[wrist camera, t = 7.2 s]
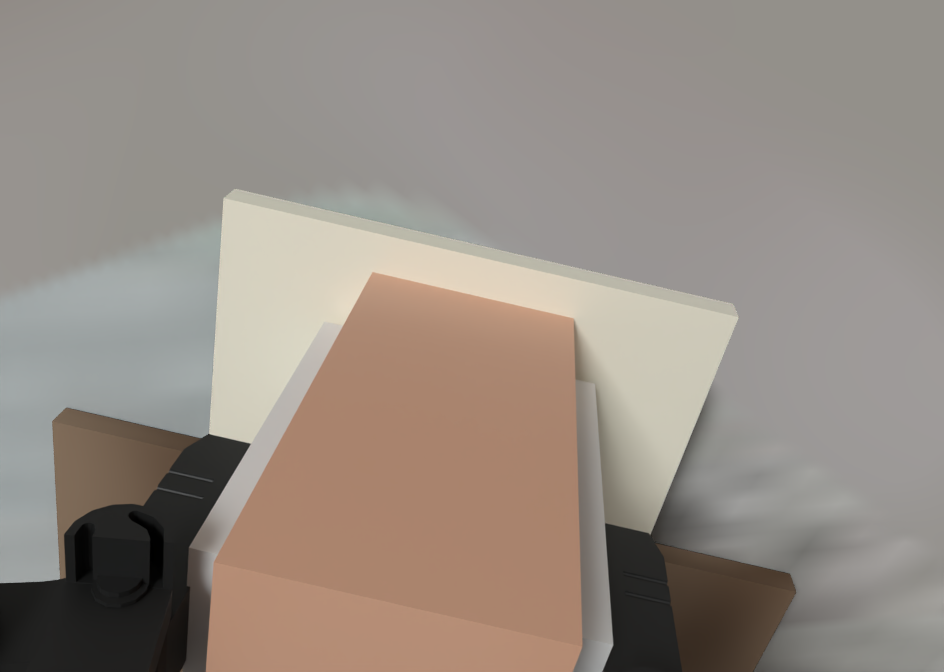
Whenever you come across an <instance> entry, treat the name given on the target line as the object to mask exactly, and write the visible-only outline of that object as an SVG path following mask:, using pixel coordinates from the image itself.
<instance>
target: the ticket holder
mask: <svg viewBox="0 0 944 672" xmlns="http://www.w3.org/2000/svg"><path fill="white" fill-rule="evenodd" d="M52 426H53V445H54V465H55V485H56V505H57V525H58V545H59V564H60V579H63V578H66V571H65V549H64V534H65V532H66V531H67V530H68V529H69V527H70V526H71V525H72V524H73V522H74V521H75V520H77V519H79V518H80V517H82V516H84V515H85V514H87V513H89V512H90V511H92V510H95V509H99V508H102V507H106V506H109V505H116V504H137V505H141V506H143V505H144V504H145V502H146V501H147V500H148V498H149V497H150V496H151V494H152V493H153V491H154V490H157V487H158V484H159V483H160V482H161V480H162V479H163V478H164V476H165V475H166V473H169V470H170V468H171V466H172V465H173V464H174V462H175V461H176V459H177V458H178V457H179V455H180V454H181V453H182V451H183V450H184V449H185V448H186V447H188V446H190V445H191V444H193V443H195V442H196V441H198V440H200V438H196V437H191V436H187V435H183V434H178V433H174V432H170V431H165V430H161V429H156V428H152V427H148V426H143V425H139V424H135V423H130V422H126V421H122V420H117V419H113V418H109V417H104V416H100V415H96V414H91V413H87V412H82V411H78V410H74V409H69V408H65V409H64V410H63V411H62V412H61V413H60V414H59V415H58V416H57V417H56V418H55V419H54V420H53V421H52ZM655 544H656V545H657V547H658V548H659V550H660V552H661V553H662V555H663V556H664V560H665V567H666V573H667V579H668V582H667V586H669V592H670V598H671V603H670V606H672V611H673V617H674V623H675V629H676V636H677V642H678V648H679V654H680V661H681V667H682V672H753V671H754V669H755V667H756V665H757V664H758V662H759V660H760V658H761V656H762V654H763V652H764V651H765V649H766V647H767V645H768V643H769V641H770V640H771V638H772V636H773V634H774V632H775V630H776V629H777V627H778V625H779V623H780V621H781V619H782V618H783V616H784V614H785V612H786V610H787V608H788V606H789V605H790V603H791V601H792V599H793V597H794V595H795V594H796V590H795V587H794V584H793V581H792V578H791V576H790V574H788V573H783V572H779V571H775V570H770V569H766V568H762V567H757V566H753V565H749V564H744V563H740V562H736V561H731V560H727V559H722V558H718V557H714V556H709V555H705V554H701V553H696V552H692V551H688V550H683V549H679V548H675V547H670V546H666V545H662V544H657V543H655ZM182 671H183V667H182V669H181V671H180V672H182Z"/></svg>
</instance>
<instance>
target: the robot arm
mask: <svg viewBox="0 0 944 672" xmlns="http://www.w3.org/2000/svg"><path fill="white" fill-rule="evenodd" d="M342 327H343V326H342V325H338V324H333V323H329V322H324V323H323V325H322V327H321V328H320V330H319V332H318V333H317V335H316V337H315V338H314V340H313V342H312V343H311V345H310V347H309V348H308V350H307V352H306V353H305V355H304V357H303V358H302V360H301V362H300V363H299V365H298V367H297V368H296V370H295V372H294V373H293V375H292V377H291V378H290V380H289V382H288V383H287V385H286V387H285V388H284V390H283V392H282V393H281V395H280V397H279V398H278V400H277V402H276V403H275V405H274V407H273V408H272V410H271V412H270V413H269V415H268V417H267V418H266V420H265V422H264V423H263V425H262V427H261V428H260V430H259V432H258V433H257V435H256V437H255V438H254V440H253V442H252V443H251V444H250V443H246V442H241V441H237V440H233V439H228V438H224V437H220V436H215V435H211V434H208V435H206V436H205V437H203V438H201V439H200V440H198V441H196V442H195V443H193V444H191V445H190V446H188V447H186V448H185V449H184V450H183V451H182V453H181V454H180V455H179V457H178V458H177V459H176V461H175V462H174V464H173V465H172V466H171V468H170V470H169V473H166V475H165V476H164V478H163V479H162V480H161V482H160V483H159V484H158V487H157V490H154V491H153V493H152V494H151V496H150V497H149V498H148V500H147V501H146V502H145V504H144V505H143V506H141V505H137V504H116V505H109V506H106V507H102V508H99V509H95V510H92V511H90V512H89V513H87V514H85V515H84V516H82V517H80V518H79V519H77V520H75V521H74V522H73V524H72V525H71V526H70V527H69V529H68V530H67V531H66V532H65V534H64V549H65V571H66V578H63V579H59V580H53V581H44V582H25V583H0V672H180V671H181V669H182V667H183V671H182V672H206V661H207V647H208V633H209V619H210V605H211V591H212V577H213V563H214V560H215V559H216V557H217V555H218V553H219V551H220V549H221V548H222V546H223V544H224V542H225V540H226V539H227V537H228V535H229V533H230V531H231V529H232V528H233V526H234V524H235V522H236V520H237V518H238V517H239V515H240V513H241V511H242V509H243V508H244V506H245V504H246V502H247V500H248V498H249V497H250V495H251V493H252V491H253V489H254V487H255V486H256V484H257V482H258V480H259V478H260V476H261V475H262V473H263V471H264V469H265V467H266V466H267V464H268V462H269V460H270V458H271V456H272V455H273V453H274V451H275V449H276V447H277V445H278V444H279V442H280V440H281V438H282V436H283V434H284V433H285V431H286V429H287V427H288V425H289V424H290V422H291V420H292V418H293V416H294V414H295V413H296V411H297V409H298V407H299V405H300V403H301V402H302V400H303V398H304V396H305V394H306V392H307V391H308V389H309V387H310V385H311V383H312V382H313V380H314V378H315V376H316V374H317V372H318V371H319V369H320V367H321V365H322V363H323V361H324V360H325V358H326V356H327V354H328V352H329V351H330V349H331V347H332V345H333V343H334V341H335V340H336V338H337V336H338V334H339V332H340V330H341V329H342ZM575 385H576V422H577V459H578V497H579V534H580V571H581V608H582V646H583V647H582V649H581V652H580V655H579V657H578V660H577V662H576V665H575V667H574V670H573V672H682V667H681V661H680V654H679V648H678V642H677V636H676V629H675V623H674V617H673V611H672V606H670V603H671V598H670V592H669V586H667V582H668V579H667V573H666V567H665V560H664V556H663V555H662V553H661V552H660V550H659V548H658V547H657V545H656V544H655V542H654V541H653V539H652V537H651V536H650V534H649V533H646V532H642V531H637V530H633V529H629V528H624V527H620V526H616V525H611V524H607V523H605V519H604V505H603V490H602V476H601V462H600V447H599V433H598V419H597V404H596V390H595V384H593V383H589V382H585V381H580V380H576V379H575Z"/></svg>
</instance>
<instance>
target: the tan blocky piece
mask: <svg viewBox="0 0 944 672" xmlns="http://www.w3.org/2000/svg"><path fill="white" fill-rule="evenodd" d="M738 318H739V316H738V314H737V312H736V309H735V307H734V305H733V304H731V303H727V302H722V301H718V300H714V299H709V298H705V297H701V296H696V295H692V294H688V293H683V292H679V291H675V290H671V289H666V288H662V287H658V286H653V285H649V284H645V283H640V282H636V281H632V280H627V279H623V278H619V277H614V276H610V275H605V274H601V273H597V272H593V271H588V270H584V269H580V268H575V267H571V266H567V265H562V264H558V263H554V262H549V261H545V260H541V259H537V258H532V257H528V256H524V255H519V254H515V253H511V252H506V251H502V250H498V249H493V248H489V247H485V246H480V245H476V244H472V243H467V242H463V241H459V240H454V239H450V238H446V237H441V236H437V235H433V234H428V233H424V232H420V231H415V230H411V229H407V228H402V227H398V226H394V225H389V224H385V223H381V222H377V221H372V220H368V219H364V218H359V217H355V216H351V215H346V214H342V213H338V212H333V211H329V210H325V209H320V208H316V207H312V206H307V205H303V204H299V203H294V202H290V201H286V200H281V199H277V198H273V197H268V196H264V195H260V194H255V193H251V192H246V191H242V190H238V189H234V190H233V191H232V192H231V193H229V194H228V195H227V196H226V197H224V202H223V218H222V234H221V250H220V266H219V283H218V299H217V315H216V332H215V348H214V364H213V380H212V397H211V413H210V429H209V434H211V435H215V436H220V437H224V438H228V439H233V440H237V441H241V442H246V443H250V444H251V443H252V442H253V440H254V438H255V437H256V435H257V433H258V432H259V430H260V428H261V427H262V425H263V423H264V422H265V420H266V418H267V417H268V415H269V413H270V412H271V410H272V408H273V407H274V405H275V403H276V402H277V400H278V398H279V397H280V395H281V393H282V392H283V390H284V388H285V387H286V385H287V383H288V382H289V380H290V378H291V377H292V375H293V373H294V372H295V370H296V368H297V367H298V365H299V363H300V362H301V360H302V358H303V357H304V355H305V353H306V352H307V350H308V348H309V347H310V345H311V343H312V342H313V340H314V338H315V337H316V335H317V333H318V332H319V330H320V328H321V327H322V325H323V323H324V322H329V323H333V324H338V325H342V326H343V327H342V329H341V330H340V332H339V334H338V336H337V338H336V340H335V341H334V343H333V345H332V347H331V349H330V351H329V352H328V354H327V356H326V358H325V360H324V361H323V363H322V365H321V367H320V369H319V371H318V372H317V374H316V376H315V378H314V380H313V382H312V383H311V385H310V387H309V389H308V391H307V392H306V394H305V396H304V398H303V400H302V402H301V403H300V405H299V407H298V409H297V411H296V413H295V414H294V416H293V418H292V420H291V422H290V424H289V425H288V427H287V429H286V431H285V433H284V434H283V436H282V438H281V440H280V442H279V444H278V445H277V447H276V449H275V451H274V453H273V455H272V456H271V458H270V460H269V462H268V464H267V466H266V467H265V469H264V471H263V473H262V475H261V476H260V478H259V480H258V482H257V484H256V486H255V487H254V489H253V491H252V493H251V495H250V497H249V498H248V500H247V502H246V504H245V506H244V508H243V509H242V511H241V513H240V515H239V517H238V518H237V520H236V522H235V524H234V526H233V528H232V529H231V531H230V533H229V535H228V537H227V539H226V540H225V542H224V544H223V546H222V548H221V549H220V551H219V553H218V555H217V557H216V559H215V560H214V563H213V577H212V591H211V605H210V619H209V633H208V647H207V661H206V672H573V670H574V667H575V665H576V662H577V660H578V657H579V655H580V652H581V649H582V647H583V646H582V608H581V571H580V534H579V497H578V459H577V422H576V385H575V379H576V380H580V381H585V382H589V383H593V384H595V390H596V404H597V419H598V433H599V447H600V462H601V476H602V490H603V505H604V519H605V523H607V524H611V525H616V526H620V527H624V528H629V529H633V530H637V531H642V532H646V533H649V534H650V535H651V532H652V530H653V527H654V525H655V522H656V520H657V517H658V515H659V512H660V510H661V508H662V505H663V503H664V500H665V498H666V495H667V493H668V490H669V488H670V485H671V483H672V481H673V478H674V476H675V473H676V471H677V468H678V466H679V463H680V461H681V458H682V456H683V453H684V451H685V449H686V446H687V444H688V441H689V439H690V436H691V434H692V431H693V429H694V426H695V424H696V422H697V419H698V417H699V414H700V412H701V409H702V407H703V404H704V402H705V399H706V397H707V394H708V392H709V390H710V387H711V385H712V382H713V380H714V377H715V375H716V372H717V370H718V367H719V365H720V362H721V360H722V358H723V355H724V353H725V350H726V348H727V345H728V343H729V340H730V338H731V335H732V333H733V330H734V328H735V326H736V323H737V321H738Z"/></svg>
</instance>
